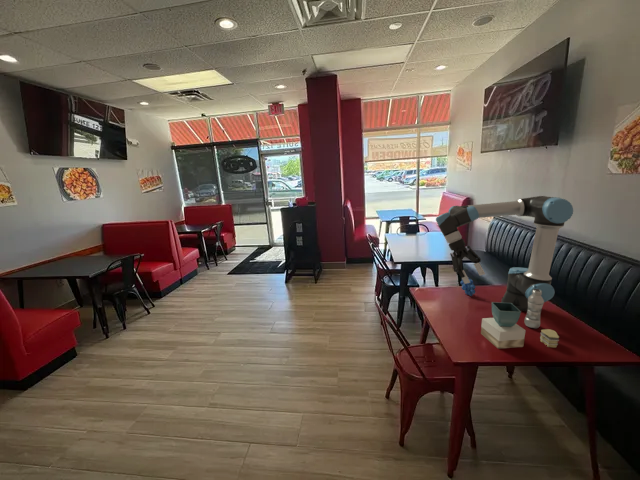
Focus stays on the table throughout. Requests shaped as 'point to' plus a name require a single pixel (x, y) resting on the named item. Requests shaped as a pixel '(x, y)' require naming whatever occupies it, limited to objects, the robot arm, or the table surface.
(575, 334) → the table surface
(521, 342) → the bottom slab
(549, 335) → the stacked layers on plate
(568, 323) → the table surface
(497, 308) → the flower pot
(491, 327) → the top slab
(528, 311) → the plastic bottle
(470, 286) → the grapes
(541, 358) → the table surface
